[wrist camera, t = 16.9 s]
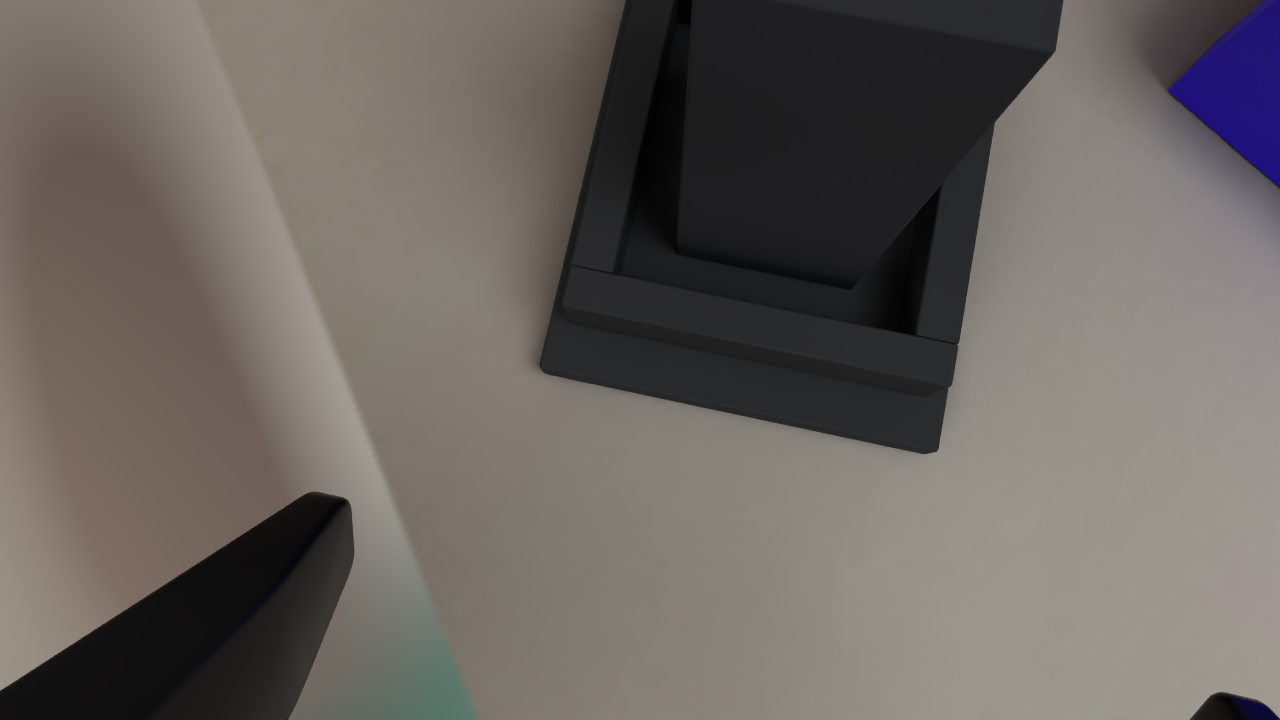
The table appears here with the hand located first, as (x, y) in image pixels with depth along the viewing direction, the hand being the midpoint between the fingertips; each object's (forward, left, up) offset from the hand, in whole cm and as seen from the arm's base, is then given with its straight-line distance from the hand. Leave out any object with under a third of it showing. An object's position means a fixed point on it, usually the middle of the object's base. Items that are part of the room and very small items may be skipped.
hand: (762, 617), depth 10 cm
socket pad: (+10, +1, -14) cm, 17 cm away
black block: (+10, +1, -13) cm, 16 cm away
